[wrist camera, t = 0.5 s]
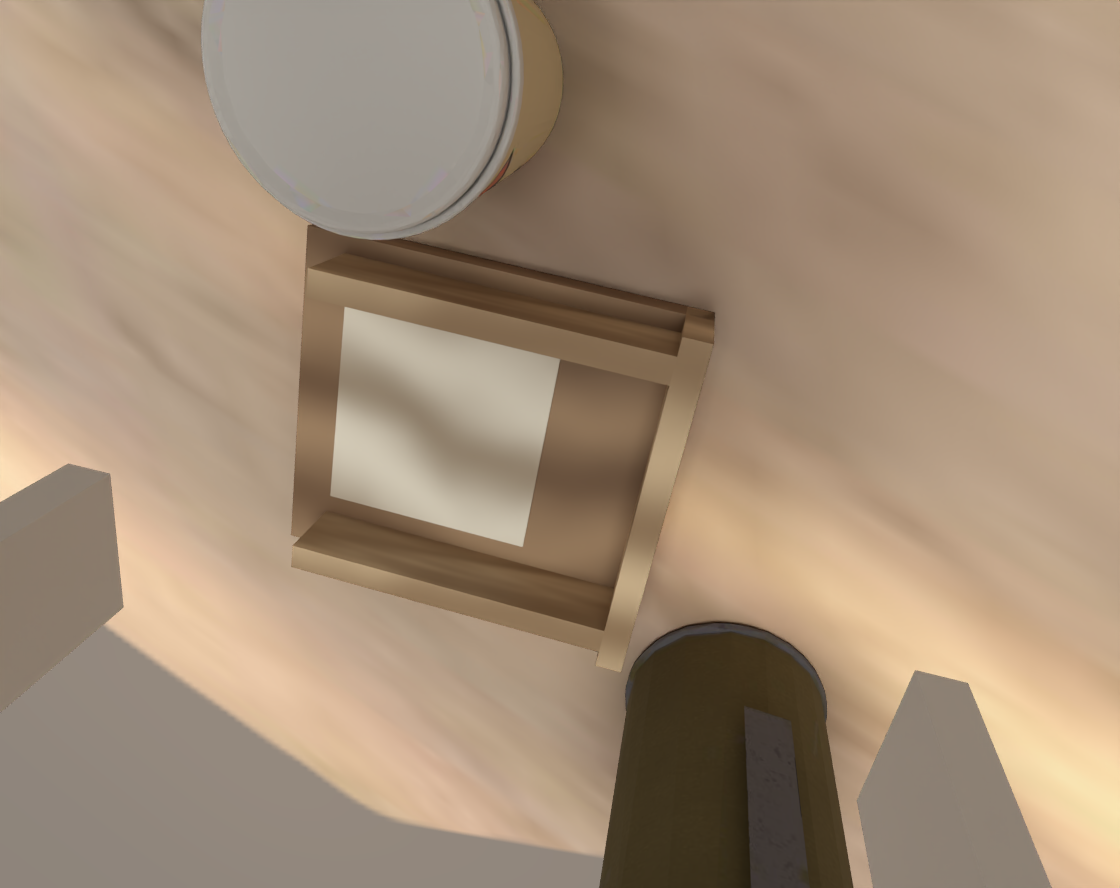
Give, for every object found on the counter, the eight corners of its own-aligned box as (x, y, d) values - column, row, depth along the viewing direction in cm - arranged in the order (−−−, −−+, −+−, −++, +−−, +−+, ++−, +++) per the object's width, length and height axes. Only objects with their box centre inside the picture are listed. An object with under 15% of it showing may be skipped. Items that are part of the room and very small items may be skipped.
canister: (784, 802, 44) (827, 1286, 26) (604, 742, 45) (524, 1173, 27) (862, 652, 40) (981, 1114, 21) (660, 588, 40) (611, 983, 22)
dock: (323, 220, 36) (266, 238, 31) (714, 312, 34) (713, 344, 30) (304, 521, 43) (255, 570, 38) (631, 609, 41) (620, 672, 37)
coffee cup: (373, 196, 35) (217, 237, 24) (354, -51, 31) (160, -132, 21) (582, 203, 34) (515, 251, 23) (588, -55, 30) (512, -145, 19)
